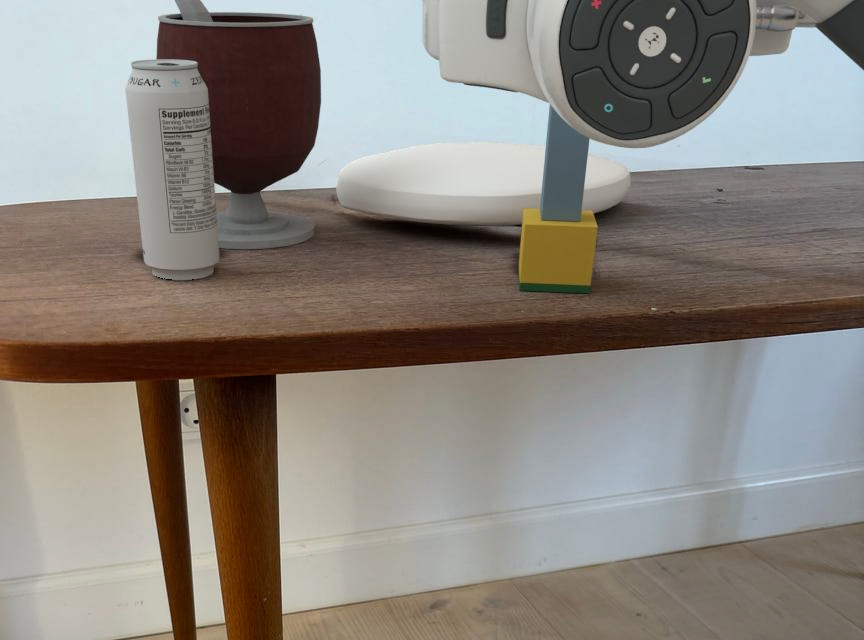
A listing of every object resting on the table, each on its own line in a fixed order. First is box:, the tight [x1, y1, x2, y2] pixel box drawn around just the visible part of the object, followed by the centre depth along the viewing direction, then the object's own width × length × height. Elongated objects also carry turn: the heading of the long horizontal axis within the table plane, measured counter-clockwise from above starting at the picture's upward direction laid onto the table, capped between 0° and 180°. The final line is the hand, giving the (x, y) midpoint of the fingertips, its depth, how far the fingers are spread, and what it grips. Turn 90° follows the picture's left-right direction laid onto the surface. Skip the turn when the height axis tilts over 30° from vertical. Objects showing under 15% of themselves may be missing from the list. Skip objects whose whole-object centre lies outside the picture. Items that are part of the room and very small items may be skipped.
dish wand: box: [517, 103, 599, 294], centre depth 80 cm, size 6×6×16 cm
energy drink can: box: [124, 59, 221, 281], centre depth 81 cm, size 6×6×15 cm
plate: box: [335, 141, 631, 227], centre depth 103 cm, size 28×6×27 cm
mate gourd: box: [156, 0, 322, 250], centre depth 92 cm, size 16×14×20 cm
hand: (595, 0), depth 63 cm, fingers open, 8 cm apart
